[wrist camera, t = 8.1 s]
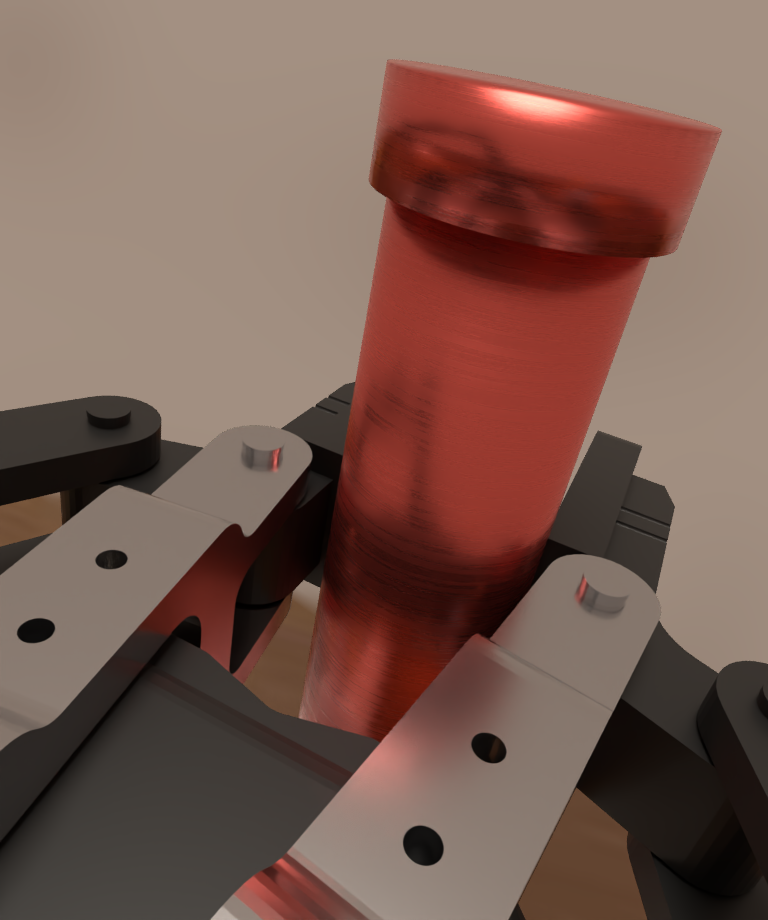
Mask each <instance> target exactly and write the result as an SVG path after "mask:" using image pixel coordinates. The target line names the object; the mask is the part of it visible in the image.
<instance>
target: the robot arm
mask: <svg viewBox="0 0 768 920" xmlns="http://www.w3.org/2000/svg"><path fill="white" fill-rule="evenodd" d="M354 387H355V382H353V383H349V384H345V385H343V386H342V387H340V388H339V389H338V390H336V391H335V392H333V393H332V394H330V395H329V397H328V398H325V399H323V400H322V401H320V402H319V403H317V404H316V407H312V408H310V409H309V410H307V411H306V412H304V413H303V414H302V415H300V416H299V417H297V418H296V419H294V420H293V421H291V422H290V423H289V424H287V425H286V426H284V427H283V428H281V429H279V428H275V427H269V426H259V425H258V426H257V425H250V426H241V427H236V428H232V429H229V430H227V431H224V432H222V433H221V434H219V435H218V436H217V437H216V438H215V439H213V440H212V441H211V442H210V443H209V444H208V445H207V446H205V447H204V448H202V447H196V446H191V445H186V444H181V443H176V442H171V441H166V440H161V417H160V414H159V413H158V412H157V410H156V409H154V408H153V407H152V406H150V405H148V404H147V403H144V402H142V401H139V400H136V399H132V398H127V397H120V396H95V397H88V398H82V399H75V400H68V401H62V402H56V403H50V404H43V405H38V406H31V407H25V408H18V409H12V410H6V411H0V506H1V505H6V504H10V503H14V502H18V501H23V500H27V499H31V498H36V497H40V496H44V495H49V494H53V493H57V492H60V497H61V512H62V526H61V527H60V528H59V529H57V530H56V531H55V532H54V533H51V534H47V535H43V536H40V537H36V538H32V539H28V540H24V541H21V542H17V543H13V544H9V545H5V546H2V547H0V920H525V917H524V915H523V913H522V911H521V909H520V907H519V904H518V903H519V901H520V899H521V897H522V895H523V893H524V891H525V889H526V887H527V885H528V883H529V881H530V879H531V877H532V875H533V873H534V871H535V869H536V867H537V865H538V863H539V861H540V859H541V857H542V855H543V853H544V851H545V849H546V847H547V845H548V843H549V841H550V839H551V837H552V835H553V833H554V831H555V829H556V827H557V825H558V823H559V821H560V819H561V817H562V815H563V813H564V811H565V809H566V807H567V805H568V803H569V801H570V799H571V797H572V795H573V793H574V791H575V789H576V787H577V788H578V789H579V790H580V791H581V792H582V793H584V794H585V795H586V796H587V797H588V798H589V799H591V800H592V801H593V802H594V803H595V804H597V805H598V806H599V807H600V808H601V809H602V810H604V811H605V812H606V813H607V814H608V815H609V816H611V817H612V818H613V819H614V820H615V821H616V822H618V823H619V824H620V825H621V826H622V827H623V828H625V829H626V830H627V831H628V836H627V849H628V854H629V858H630V862H631V865H632V868H633V872H634V875H635V879H636V882H637V885H638V889H639V892H640V895H641V899H642V902H643V906H644V909H645V912H646V916H647V919H648V920H768V664H766V663H760V662H755V661H741V662H735V663H732V664H729V665H728V666H726V667H724V668H723V669H722V670H721V671H720V673H719V674H718V673H717V672H715V671H714V670H712V669H711V668H709V667H708V666H707V665H705V664H703V663H702V662H700V661H699V660H697V659H696V658H695V657H693V656H692V655H691V654H689V653H688V652H686V651H685V650H684V649H683V648H682V647H681V646H679V645H678V644H677V643H676V642H675V641H674V640H673V639H672V638H671V637H670V636H669V635H668V633H667V632H666V630H665V629H664V628H663V626H662V625H661V623H660V621H659V619H660V615H661V607H660V603H659V600H658V598H657V596H656V590H657V586H658V581H659V577H660V572H661V567H662V563H663V558H664V554H665V549H666V544H667V543H666V542H667V540H668V535H669V531H670V525H671V522H672V517H673V512H674V508H675V506H674V504H673V502H672V501H671V498H670V496H669V494H668V492H667V490H666V488H665V486H662V485H659V484H657V483H654V482H651V481H648V480H646V479H643V478H640V477H637V476H635V475H632V474H633V471H634V468H635V466H636V463H637V460H638V457H639V454H640V451H641V448H642V446H640V445H638V444H635V443H632V442H629V441H626V440H623V439H621V438H617V437H615V436H612V435H609V434H606V433H604V432H601V431H598V432H597V433H596V435H595V437H594V439H593V441H592V443H591V445H590V448H589V449H588V452H587V453H586V455H585V457H584V459H583V461H582V463H581V466H580V468H579V470H578V472H577V474H576V476H575V478H574V480H573V482H572V484H571V486H570V488H569V490H568V492H567V494H566V496H565V498H564V500H563V502H562V504H561V506H560V508H559V510H558V513H557V516H556V518H555V521H554V524H553V527H552V529H551V532H550V535H549V538H548V540H547V542H546V545H545V548H544V551H543V553H542V556H541V559H540V562H539V564H538V567H537V570H536V573H535V576H534V578H533V581H532V584H531V587H530V589H529V591H528V593H527V594H526V595H525V596H524V597H523V599H522V600H521V601H520V602H519V604H518V605H517V606H516V607H515V609H514V610H513V611H512V612H511V614H510V615H509V616H508V617H507V618H506V620H505V621H504V622H503V623H502V625H501V626H500V627H499V628H498V630H497V631H496V632H495V633H494V634H493V636H492V637H491V638H490V639H488V638H486V637H485V636H483V635H481V634H479V633H477V634H475V635H473V636H472V637H471V638H470V639H469V640H468V641H467V642H466V643H465V644H464V645H463V647H462V648H461V649H460V650H459V651H458V652H457V654H456V655H455V656H454V657H453V658H452V659H451V661H450V662H449V663H448V664H447V665H446V666H445V668H444V669H443V670H442V671H441V672H440V674H439V675H438V676H437V677H436V678H435V679H434V681H433V682H432V683H431V684H430V685H429V686H428V688H427V689H426V690H425V691H424V692H423V693H422V695H421V696H420V697H419V698H418V699H417V701H416V702H415V703H414V704H413V705H412V706H411V708H410V709H409V710H408V711H407V712H406V713H405V715H404V716H403V717H402V718H401V719H400V720H399V722H398V723H397V724H396V725H395V726H394V728H393V729H392V730H391V731H390V732H389V733H388V735H387V736H386V737H385V738H384V739H383V740H382V742H381V743H380V742H378V741H377V740H375V739H373V738H370V737H367V736H363V735H359V734H355V733H352V732H348V731H344V730H341V729H337V728H333V727H329V726H326V725H322V724H318V723H315V722H311V721H307V720H303V719H300V718H296V717H292V716H289V715H285V714H282V713H279V712H276V711H274V710H272V709H270V708H269V707H268V706H266V705H265V704H264V703H263V702H262V701H261V700H260V699H259V698H257V697H256V696H255V695H254V694H253V693H252V692H251V691H250V690H249V689H247V688H246V687H245V686H244V685H243V684H244V682H245V680H246V679H247V677H248V676H249V674H250V673H251V671H252V669H253V668H254V666H255V665H256V663H257V662H258V660H259V658H260V657H261V655H262V654H263V652H264V650H265V649H266V647H267V646H268V644H269V643H270V641H271V639H272V638H273V636H274V635H275V633H276V632H277V630H278V628H279V627H280V625H281V624H282V622H283V621H284V619H285V617H286V616H287V614H288V612H289V610H290V607H291V601H292V594H293V591H294V590H295V588H296V587H297V586H298V585H299V584H300V583H301V582H302V581H303V580H305V581H307V582H309V583H311V584H314V585H316V586H318V587H320V588H321V582H322V576H323V571H324V565H325V559H326V553H327V547H328V541H329V535H330V529H331V523H332V517H333V512H334V506H335V500H336V494H337V488H338V482H339V476H340V470H341V464H342V458H343V452H344V447H345V441H346V435H347V429H348V423H349V417H350V411H351V405H352V399H353V393H354Z"/></svg>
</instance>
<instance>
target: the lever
mask: <svg viewBox="0 0 768 920" xmlns="http://www.w3.org/2000/svg"><path fill="white" fill-rule="evenodd" d="M721 132H722V130H721V129H719V128H717V127H715V126H712V125H709V124H706V123H703V122H700V121H697V120H693V119H690V118H686V117H682V116H679V115H675V114H671V113H667V112H663V111H659V110H655V109H651V108H647V107H643V106H639V105H635V104H630V103H626V102H622V101H618V100H613V99H609V98H605V97H600V96H596V95H591V94H587V93H582V92H577V91H573V90H567V89H563V88H559V87H554V86H549V85H544V84H539V83H535V82H529V81H524V80H519V79H514V78H509V77H504V76H498V75H494V74H488V73H483V72H477V71H472V70H466V69H460V68H455V67H448V66H442V65H436V64H429V63H423V62H415V61H406V60H395V59H394V60H393V59H390V60H387V64H386V71H385V77H384V83H383V90H382V96H381V103H380V110H379V116H378V123H377V129H376V135H375V141H374V148H373V154H372V161H371V167H370V174H369V182H370V184H371V186H372V187H373V188H374V189H375V190H376V191H378V192H379V193H381V194H382V195H384V196H385V197H387V199H386V204H385V210H384V216H383V222H382V228H381V234H380V240H379V246H378V252H377V258H376V263H375V269H374V275H373V281H372V287H371V293H370V299H369V305H368V311H367V317H366V323H365V329H364V335H363V340H362V346H361V352H360V358H359V364H358V370H357V376H356V382H355V387H354V393H353V399H352V405H351V411H350V417H349V423H348V429H347V435H346V441H345V447H344V452H343V458H342V464H341V470H340V476H339V482H338V488H337V494H336V500H335V506H334V512H333V517H332V523H331V529H330V535H329V541H328V547H327V553H326V559H325V565H324V571H323V576H322V582H321V588H320V594H319V600H318V606H317V612H316V618H315V624H314V630H313V636H312V641H311V647H310V653H309V659H308V665H307V671H306V677H305V683H304V689H303V695H302V701H301V706H300V712H299V718H300V719H303V720H307V721H311V722H315V723H318V724H322V725H326V726H329V727H333V728H337V729H341V730H344V731H348V732H352V733H355V734H359V735H363V736H367V737H370V738H373V739H375V740H377V741H378V742H380V743H381V742H382V740H383V739H384V738H385V737H386V736H387V735H388V733H389V732H390V731H391V730H392V729H393V728H394V726H395V725H396V724H397V723H398V722H399V720H400V719H401V718H402V717H403V716H404V715H405V713H406V712H407V711H408V710H409V709H410V708H411V706H412V705H413V704H414V703H415V702H416V701H417V699H418V698H419V697H420V696H421V695H422V693H423V692H424V691H425V690H426V689H427V688H428V686H429V685H430V684H431V683H432V682H433V681H434V679H435V678H436V677H437V676H438V675H439V674H440V672H441V671H442V670H443V669H444V668H445V666H446V665H447V664H448V663H449V662H450V661H451V659H452V658H453V657H454V656H455V655H456V654H457V652H458V651H459V650H460V649H461V648H462V647H463V645H464V644H465V643H466V642H467V641H468V640H469V639H470V638H471V637H472V636H473V635H475V634H477V633H479V634H481V635H483V636H485V637H486V638H488V639H490V638H491V637H492V636H493V634H494V633H495V632H496V631H497V630H498V628H499V627H500V626H501V625H502V623H503V622H504V621H505V620H506V618H507V617H508V616H509V615H510V614H511V612H512V611H513V610H514V609H515V607H516V606H517V605H518V604H519V602H520V601H521V600H522V599H523V597H524V596H525V595H526V594H527V593H528V591H529V589H530V587H531V584H532V581H533V578H534V576H535V573H536V570H537V567H538V564H539V562H540V559H541V556H542V553H543V551H544V548H545V545H546V542H547V540H548V538H549V535H550V532H551V529H552V527H553V524H554V521H555V518H556V516H557V513H558V510H559V507H560V505H561V502H562V499H563V496H564V493H565V491H566V488H567V485H568V482H569V480H570V477H571V474H572V471H573V469H574V466H575V463H576V460H577V458H578V455H579V452H580V449H581V447H582V444H583V441H584V438H585V436H586V433H587V430H588V427H589V424H590V422H591V419H592V416H593V414H594V411H595V408H596V405H597V402H598V400H599V397H600V394H601V391H602V389H603V386H604V383H605V380H606V378H607V375H608V372H609V369H610V366H611V364H612V361H613V358H614V356H615V353H616V350H617V347H618V345H619V342H620V339H621V336H622V334H623V331H624V328H625V325H626V322H627V320H628V317H629V314H630V311H631V308H632V305H633V303H634V300H635V298H636V295H637V292H638V289H639V287H640V284H641V281H642V278H643V275H644V273H645V270H646V267H647V265H648V262H649V259H650V257H658V256H664V255H668V254H671V253H673V252H674V251H675V250H677V248H678V246H679V243H680V240H681V238H682V235H683V232H684V230H685V227H686V224H687V222H688V219H689V217H690V214H691V211H692V209H693V206H694V203H695V201H696V198H697V196H698V193H699V190H700V188H701V185H702V182H703V180H704V177H705V174H706V172H707V169H708V166H709V164H710V161H711V159H712V156H713V153H714V151H715V148H716V145H717V143H718V140H719V138H720V135H721Z"/></svg>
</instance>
